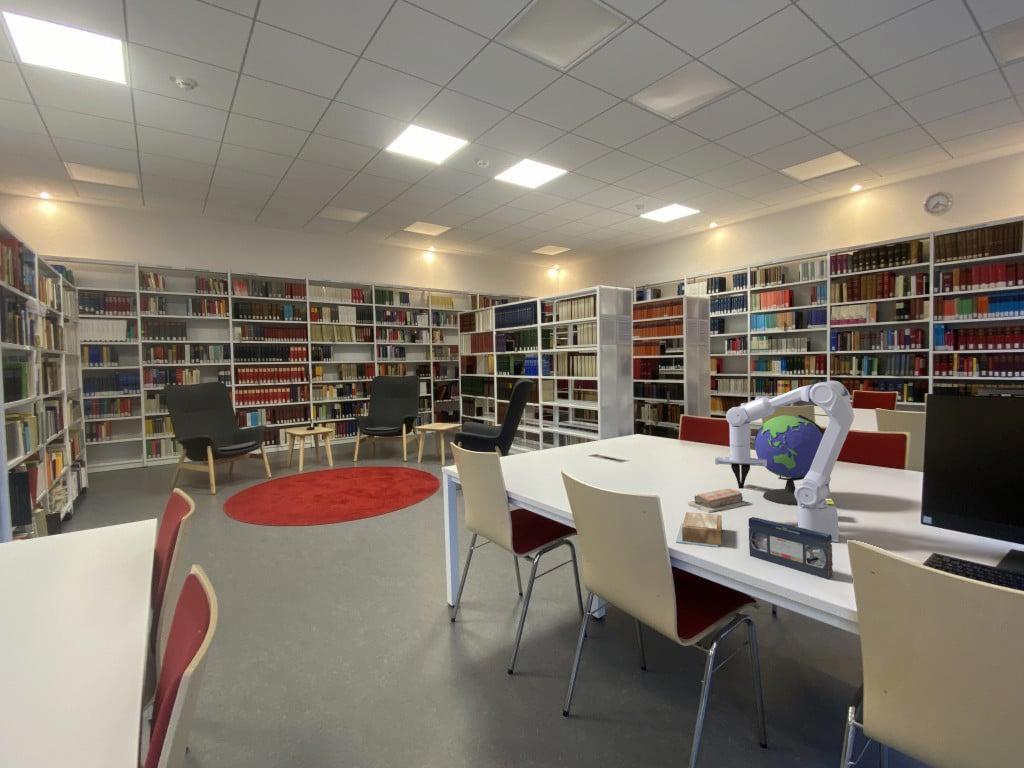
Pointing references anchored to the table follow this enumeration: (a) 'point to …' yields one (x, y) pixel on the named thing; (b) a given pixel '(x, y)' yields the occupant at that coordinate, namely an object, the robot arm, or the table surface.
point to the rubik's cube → (830, 502)
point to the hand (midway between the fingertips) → (741, 487)
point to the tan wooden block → (702, 528)
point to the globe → (788, 452)
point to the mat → (679, 540)
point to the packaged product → (718, 500)
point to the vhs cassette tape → (791, 547)
